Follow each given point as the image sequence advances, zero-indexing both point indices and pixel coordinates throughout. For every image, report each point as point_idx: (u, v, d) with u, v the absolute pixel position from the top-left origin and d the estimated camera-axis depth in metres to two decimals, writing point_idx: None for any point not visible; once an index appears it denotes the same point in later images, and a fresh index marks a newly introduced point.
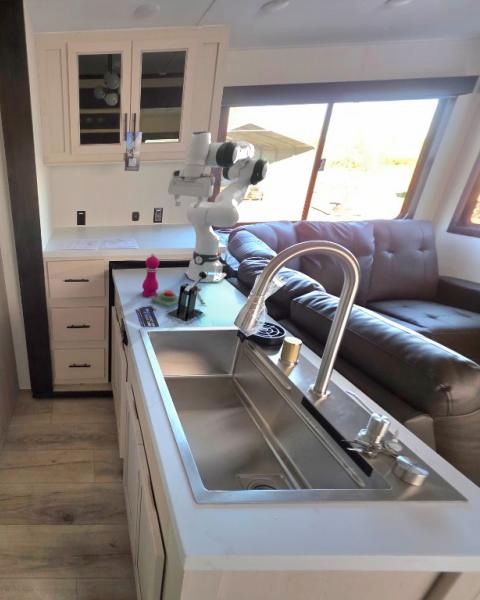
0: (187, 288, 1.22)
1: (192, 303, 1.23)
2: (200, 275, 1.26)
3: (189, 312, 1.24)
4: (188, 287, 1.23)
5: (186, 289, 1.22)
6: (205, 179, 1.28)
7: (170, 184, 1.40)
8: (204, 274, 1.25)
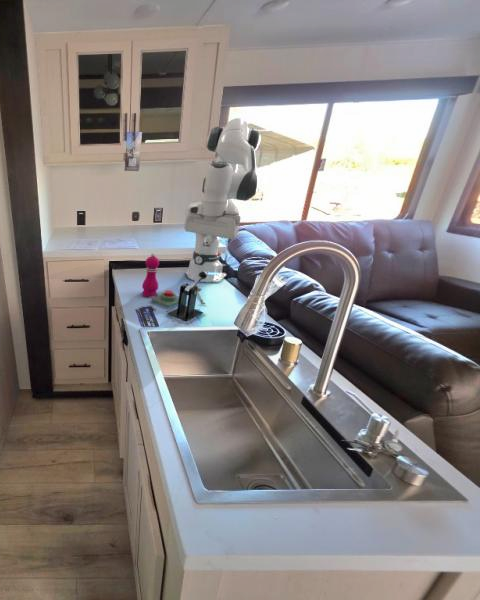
0: (187, 288, 1.22)
1: (192, 303, 1.23)
2: (200, 275, 1.26)
3: (189, 312, 1.24)
4: (188, 287, 1.23)
5: (186, 289, 1.22)
6: (229, 218, 1.11)
7: (187, 221, 1.23)
8: (204, 274, 1.25)
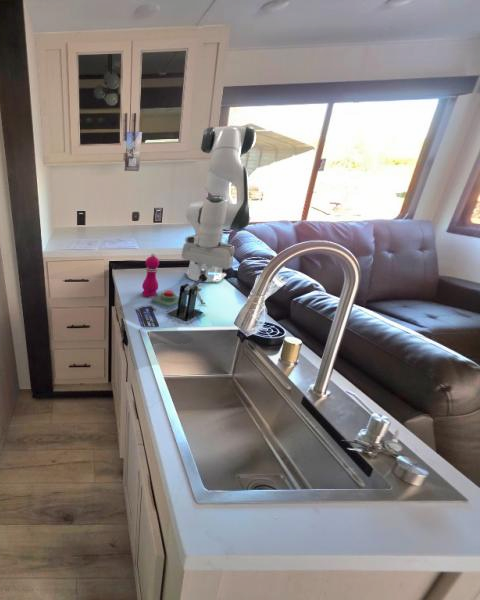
0: (187, 288, 1.22)
1: (192, 303, 1.23)
2: (200, 277, 1.26)
3: (189, 312, 1.24)
4: (188, 287, 1.23)
5: (186, 289, 1.22)
6: (224, 250, 1.16)
7: (184, 249, 1.28)
8: (204, 276, 1.26)
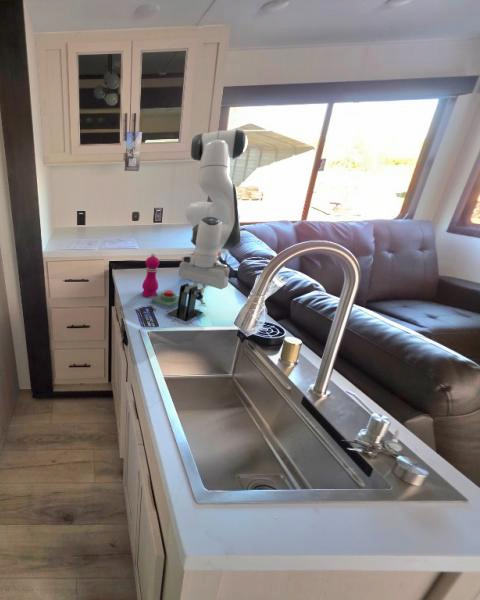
0: (189, 287, 1.23)
1: (192, 303, 1.23)
2: (198, 293, 1.29)
3: (189, 312, 1.24)
4: None
5: (188, 287, 1.22)
6: (219, 270, 1.18)
7: (180, 268, 1.31)
8: (201, 294, 1.29)
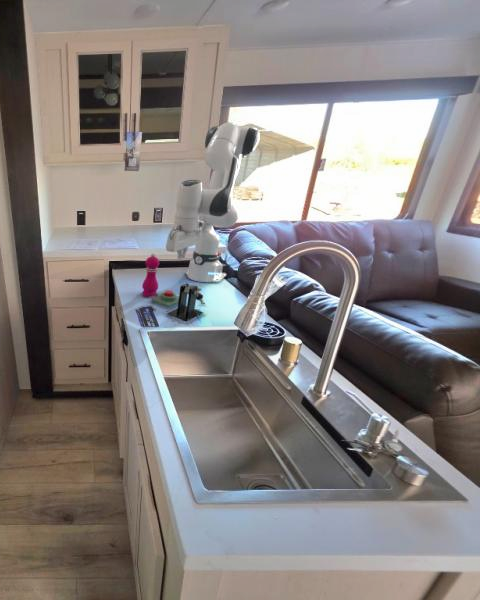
0: (189, 287, 1.23)
1: (192, 303, 1.23)
2: (198, 293, 1.29)
3: (189, 312, 1.24)
4: None
5: (188, 287, 1.22)
6: None
7: None
8: (201, 294, 1.29)
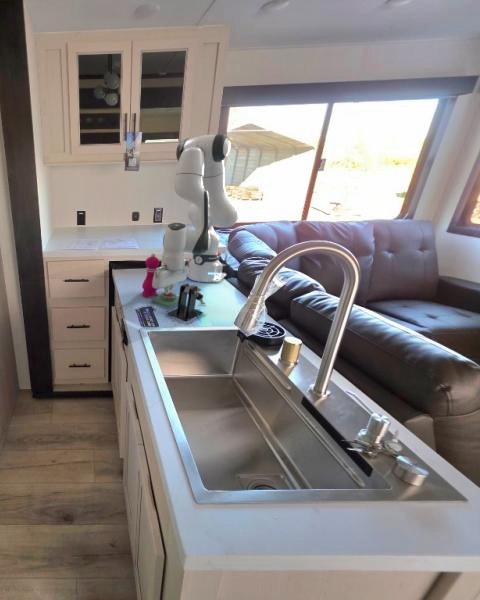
0: (189, 287, 1.23)
1: (192, 303, 1.23)
2: (198, 293, 1.29)
3: (189, 312, 1.24)
4: None
5: (188, 287, 1.22)
6: None
7: None
8: (201, 294, 1.29)
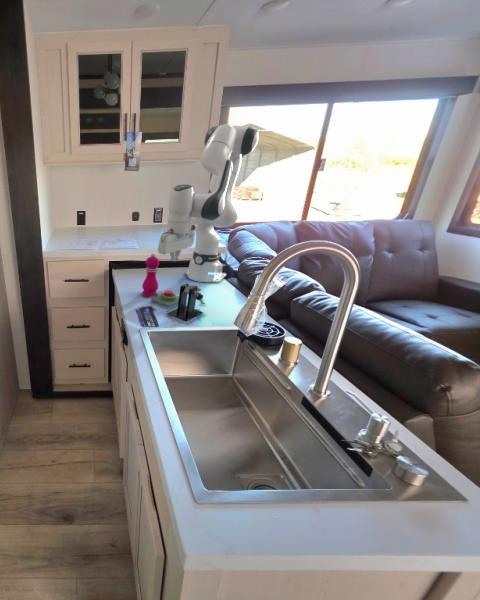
0: (189, 287, 1.23)
1: (192, 303, 1.23)
2: (198, 293, 1.29)
3: (189, 312, 1.24)
4: None
5: (188, 287, 1.22)
6: None
7: None
8: (201, 294, 1.29)
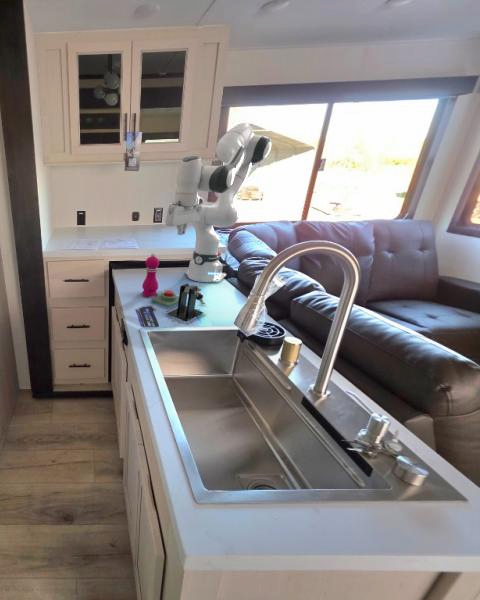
0: (189, 287, 1.23)
1: (192, 303, 1.23)
2: (198, 293, 1.29)
3: (189, 312, 1.24)
4: None
5: (188, 287, 1.22)
6: None
7: None
8: (201, 294, 1.29)
